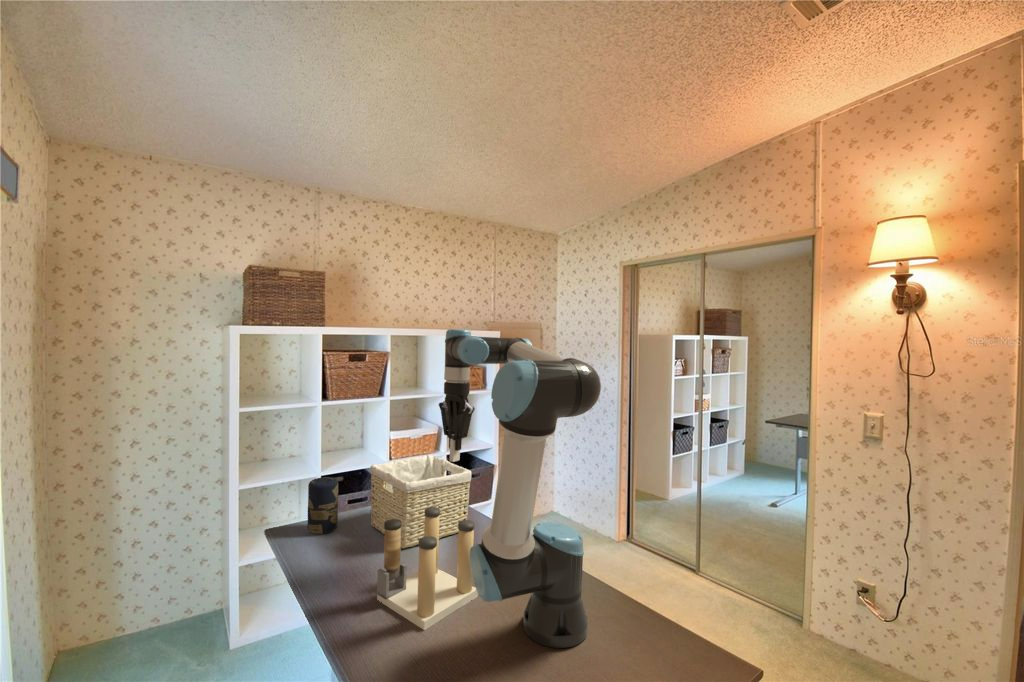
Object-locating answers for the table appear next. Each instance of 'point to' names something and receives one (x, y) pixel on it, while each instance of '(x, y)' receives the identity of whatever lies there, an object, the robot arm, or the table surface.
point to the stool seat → (431, 578)
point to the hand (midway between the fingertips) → (454, 460)
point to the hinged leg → (392, 548)
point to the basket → (419, 495)
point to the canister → (322, 505)
